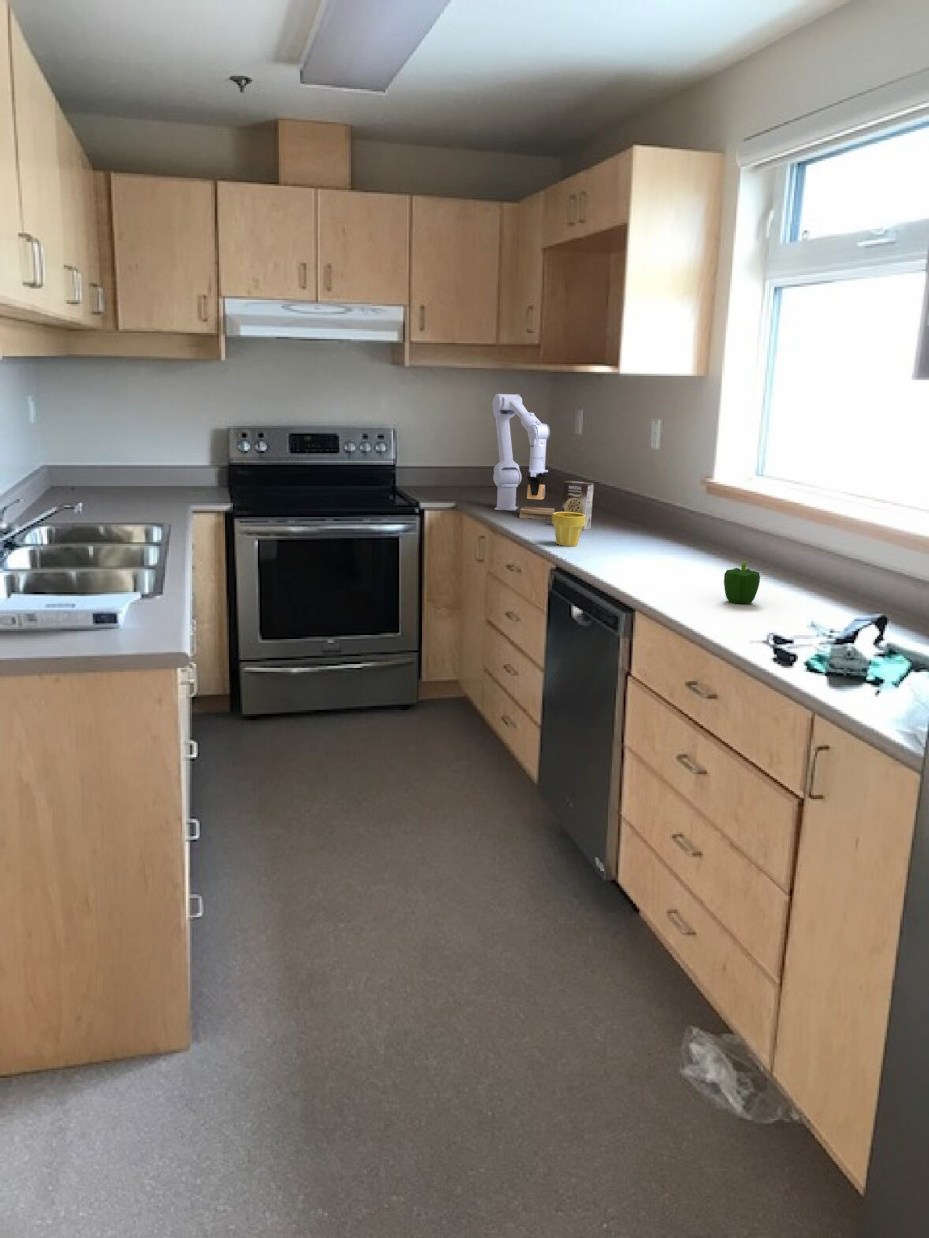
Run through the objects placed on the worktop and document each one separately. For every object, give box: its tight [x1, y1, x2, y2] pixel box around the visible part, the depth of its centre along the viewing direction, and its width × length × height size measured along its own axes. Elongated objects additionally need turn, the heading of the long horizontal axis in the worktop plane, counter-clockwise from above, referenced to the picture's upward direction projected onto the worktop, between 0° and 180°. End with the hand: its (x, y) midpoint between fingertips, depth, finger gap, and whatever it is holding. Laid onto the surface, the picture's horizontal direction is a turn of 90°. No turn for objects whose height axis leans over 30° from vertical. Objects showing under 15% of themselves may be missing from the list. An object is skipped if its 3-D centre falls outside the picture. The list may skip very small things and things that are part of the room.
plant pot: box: [551, 511, 585, 547], centre depth 316 cm, size 10×10×10 cm
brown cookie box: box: [561, 480, 595, 531], centre depth 349 cm, size 9×6×16 cm
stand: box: [519, 506, 556, 521], centre depth 373 cm, size 10×12×3 cm
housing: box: [526, 483, 546, 500], centre depth 371 cm, size 6×4×5 cm
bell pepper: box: [723, 560, 761, 605], centre depth 244 cm, size 8×8×10 cm
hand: (535, 494), depth 371 cm, fingers closed on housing, 4 cm apart
